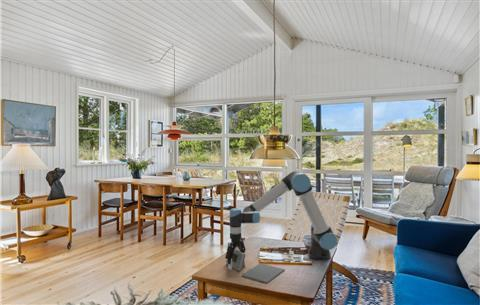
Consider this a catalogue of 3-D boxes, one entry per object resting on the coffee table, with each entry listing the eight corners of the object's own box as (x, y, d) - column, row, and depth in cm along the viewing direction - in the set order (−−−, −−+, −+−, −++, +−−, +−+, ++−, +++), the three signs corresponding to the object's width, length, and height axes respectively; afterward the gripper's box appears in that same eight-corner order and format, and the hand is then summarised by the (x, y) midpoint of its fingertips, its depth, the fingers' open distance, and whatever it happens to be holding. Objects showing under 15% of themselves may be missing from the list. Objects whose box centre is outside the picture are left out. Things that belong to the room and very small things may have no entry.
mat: (260, 264, 215) (260, 263, 215) (284, 270, 204) (284, 269, 204) (241, 276, 196) (241, 274, 196) (267, 283, 186) (267, 282, 186)
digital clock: (225, 263, 217) (225, 248, 216) (237, 261, 220) (237, 246, 220) (234, 272, 202) (234, 255, 201) (247, 270, 206) (247, 253, 205)
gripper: (241, 227, 222) (241, 258, 223) (219, 236, 202) (219, 270, 203) (250, 229, 218) (250, 260, 219) (229, 238, 198) (229, 273, 199)
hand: (236, 265), depth 211 cm, fingers open, 12 cm apart
